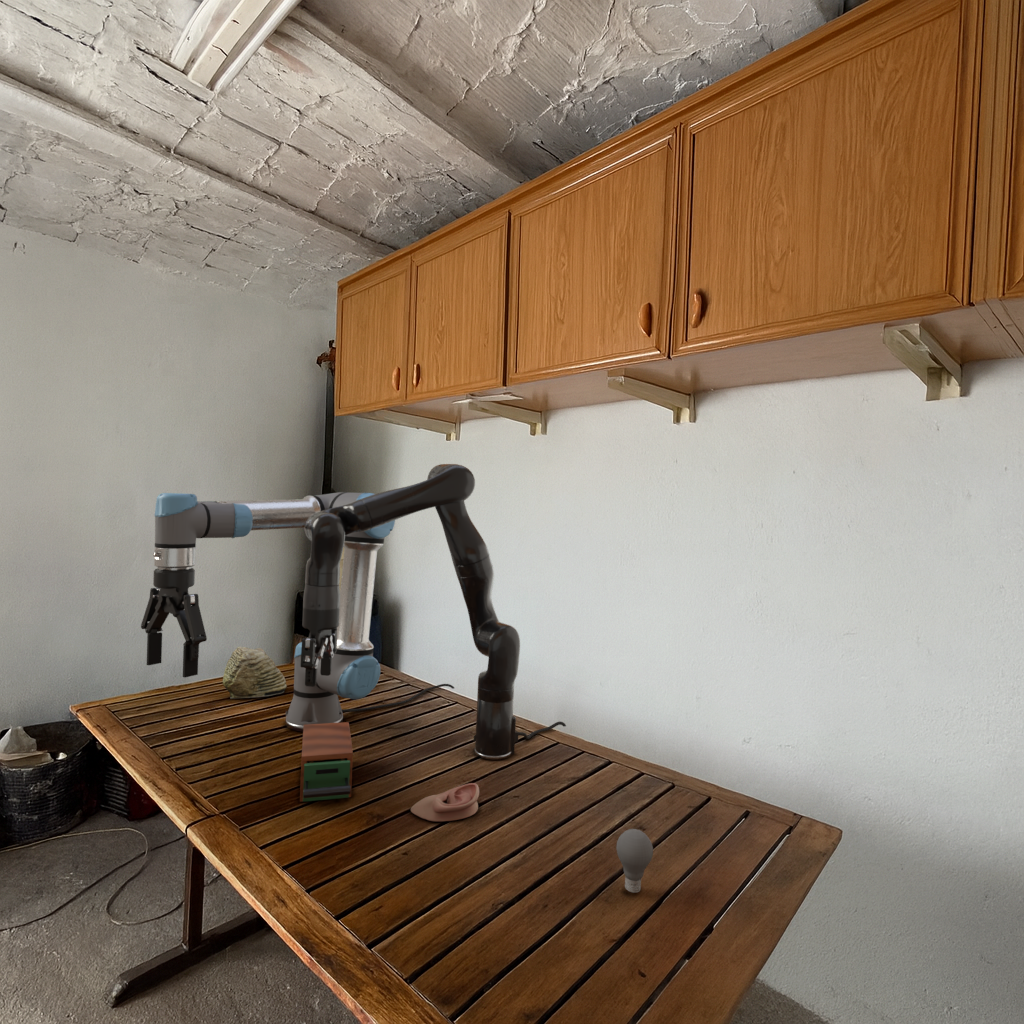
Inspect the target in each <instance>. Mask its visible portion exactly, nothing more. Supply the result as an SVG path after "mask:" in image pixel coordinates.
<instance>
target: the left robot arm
mask: <svg viewBox="0 0 1024 1024" xmlns="http://www.w3.org/2000/svg"><path fill="white" fill-rule="evenodd" d="M374 494H375V493H373V492H348V491H339V492H332V493H324V494H316V495H315V494H314V495H306V496H304V497H303V498H301V499H300V498H299V499H250V500H249V499H247V500H245V499H244V500H205V501H204V500H202V501H201V500H199V501H198V496H197V495H196V494H195V493H182V492H181V493H179V492H177V493H175V492H162V493H159V494H158V495H157V497H156V500H155V507H154V508H155V509H154V552H153V554H152V555H153V557H154V558H153V565H154V567H156V568H154V570H153V578H152V579H153V583H152V585H153V587H151V588H149V589H150V590H149V598H148V601H147V605H146V608H145V611H144V613H143V618H142V620H141V624H140V628H141V630H145V633H146V635H147V637H146V666H152V665H158V664H162V653H163V631H164V630H163V628H162V627H163V625H164V624H165V622H166V620H167V618H168V617H169V615H170V614H171V615H172V616H173V617H174V618H176V620H177V623H178V626H179V628H180V630H181V633H182V636H183V638H184V640H185V641H184V643H183V645H182V646H183V649H182V650H183V652H182V678H184V679H185V678H188V677H194V676H198V675H199V659H200V658H199V654H200V653H199V652H200V644H201V643H204V642H207V640H208V639H207V634H206V630H205V625H204V621H203V616H202V612H201V609H200V604H199V603H200V602H199V601H200V600H199V593H191V594H189V589H190V588H191V587H193V586H195V580H196V577H195V574H196V571H195V569H194V568H193V567H194V566H195V565H196V549H197V548H196V547H197V544H196V543H197V539H224V538H225V539H227V538H228V539H230V538H231V539H235V538H243V537H246V536H248V535H249V534H250V532H251V531H265V530H283V529H284V530H285V529H287V530H288V529H302V528H303V529H305V523H306V521H307V520H308V518H309V517H310V516H312V515H313V514H315V513H317V512H320V511H323V510H327V509H330V508H334V507H338V506H343V505H347V504H350V503H352V502H354V501H357V500H360V499H362V498H365V497H368V496H371V495H374ZM395 524H396V520H394V521H391V522H388V523H386V524H383V525H381V526H378V527H375V528H372V529H370V530H367V531H363V532H353V533H350V534H348V535H345V541H344V547H343V558H342V559H343V560H342V570H341V581H340V609H339V626H338V627H337V651H336V653H334V656H333V658H332V665H331V674H330V675H329V676H324V675H321V674H320V670H321V659H320V660H319V662H318V666H317V683H316V685H315V686H314V687H310V686H306V685H305V670H306V668H304V667H301V666H300V664H301V649H302V641H300V642H299V643H298V644H297V645H296V646H295V650H294V655H293V657H294V672H293V673H294V674H293V695H292V696H293V697H292V699H291V702H290V704H289V708H288V710H286V711H285V726H286V728H287V729H289V730H291V731H294V732H295V731H296V732H301V733H303V727H304V725H308V724H325V723H341V722H344V714H343V713H356V712H365V711H371V710H376V709H382V708H388V707H394V706H399V705H403V704H406V703H408V702H411V701H413V700H414V699H416V698H418V697H419V696H421V695H423V694H424V693H426V692H428V691H432V690H435V689H439V688H441V687H448V688H451V689H452V690H454V689H455V687H454V686H453V685H452V684H450V683H441V684H437V685H434V686H430V687H427V688H424V689H423V690H421V691H420V692H418V693H415V694H414V695H413V696H411V697H410V698H407V699H404V700H402V701H398V702H392V703H386V704H379V705H373V706H369V707H361V708H345V709H343V708H342V706H341V702H340V699H339V697H340V698H344V699H350V700H360V699H363V698H366V697H367V696H368V695H370V693H372V690H374V689H375V688H376V686H377V684H378V682H379V680H380V677H381V664H380V663H379V661H378V659H377V658H375V656H374V648H375V647H374V644H373V643H372V642H371V641H370V631H371V630H370V629H371V619H372V609H373V597H374V590H375V589H374V588H375V580H376V579H375V577H376V569H377V556H378V551H379V549H381V548H382V547H383V546H384V545H385V538H387V537H388V536H389V535H390V534H391V532H392V531H393V529H394V527H395ZM322 658H323V657H322ZM305 660H306V656H305ZM314 661H315V660H314ZM309 662H310V661H309Z"/></svg>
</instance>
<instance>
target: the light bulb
mask: <svg viewBox="0 0 1024 1024" xmlns="http://www.w3.org/2000/svg"><path fill="white" fill-rule="evenodd" d="M615 849H616V854H617V857H618V859H619V861H620V863H621V865H622V867H623V873H624V874H623V875H624V876H625V878H624V888H625V890H627V891H628V892H630V893H634V894H635V893H639V892H640V891H641V889H642V887H641V886H642V879H643V877H644V875H645V871H646V868H647V867H648V866H649V864H650V863H651V861H652V859H653V855H654V847H653V843H652V841H651V838H649V836H648V835H647V834H646V833H645V832H643V831H642V830H641V829H636V828H629V829H627V830H625V831H623V832H622V833H621V834H620V835H619V837H618V839H617V841H616V847H615Z"/></svg>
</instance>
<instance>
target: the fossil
mask: <svg viewBox="0 0 1024 1024" xmlns="http://www.w3.org/2000/svg"><path fill="white" fill-rule="evenodd" d="M222 676H223V677H222V685H223V687H224V688H225V690H226V691H228V693H229V698H230V699H250V698H264V697H271V696H275V695H281V694H284V693H285V691H286V689H287V687H288V686H287V680H286V678H285V676H284V674H283V673H282V672H281V669H279V668H278V667H277V665H276V663H275V662H274V660H273V659H272V658H271V657H270V656H269V655H268V654H267V653H266V652H265V650H264V649H263V648H260V647H258V648H251V647H247V646H246V647H245V646H238V647H237V648H236V649H235V650H233V651H232V653H231V656H230V657H229V659H228V660H227V663H226V666H225V668H224V671H223V675H222Z"/></svg>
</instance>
